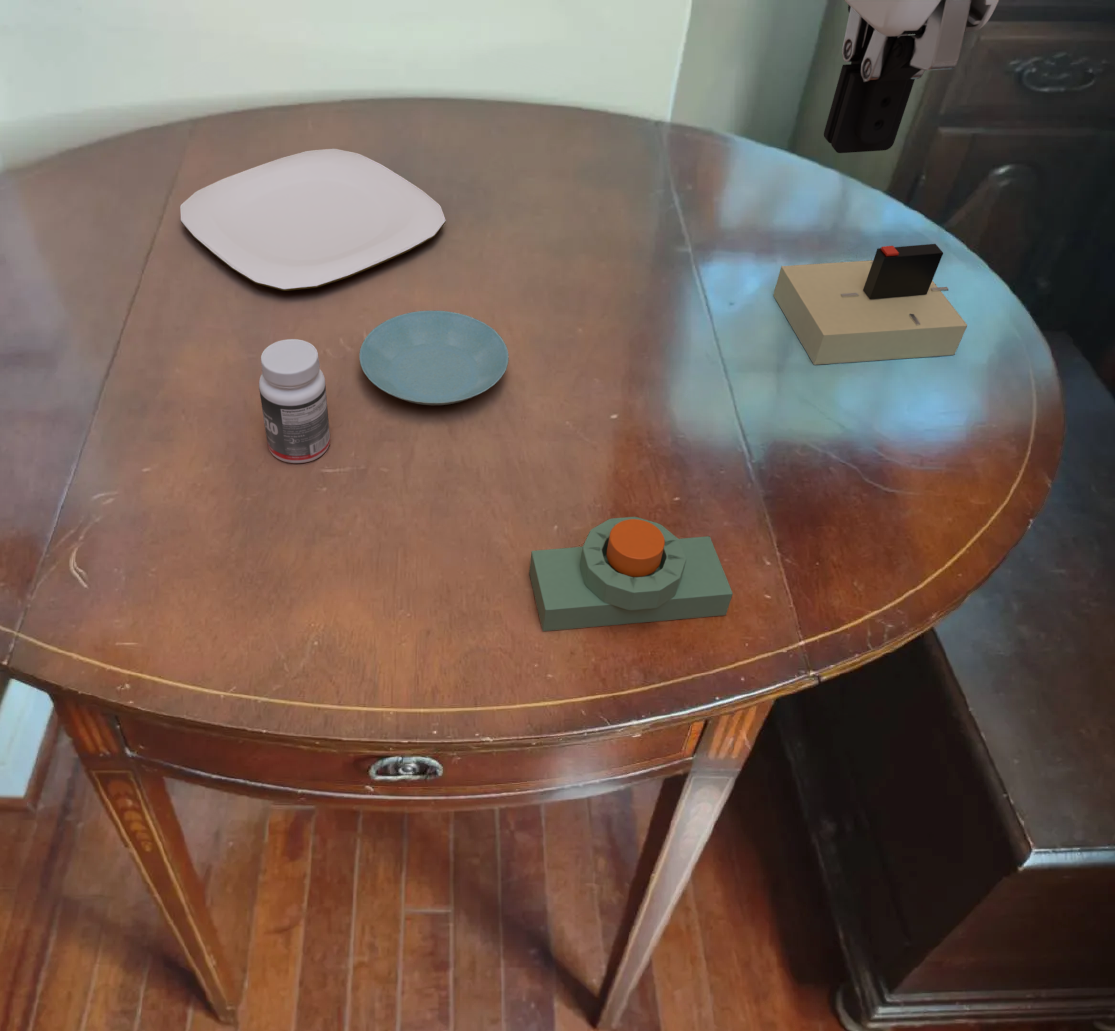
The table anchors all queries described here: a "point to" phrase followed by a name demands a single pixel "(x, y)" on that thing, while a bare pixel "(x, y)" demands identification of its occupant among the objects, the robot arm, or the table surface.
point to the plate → (311, 218)
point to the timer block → (627, 583)
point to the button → (635, 547)
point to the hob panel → (863, 316)
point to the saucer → (433, 357)
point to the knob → (902, 271)
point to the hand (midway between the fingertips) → (856, 144)
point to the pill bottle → (294, 401)
